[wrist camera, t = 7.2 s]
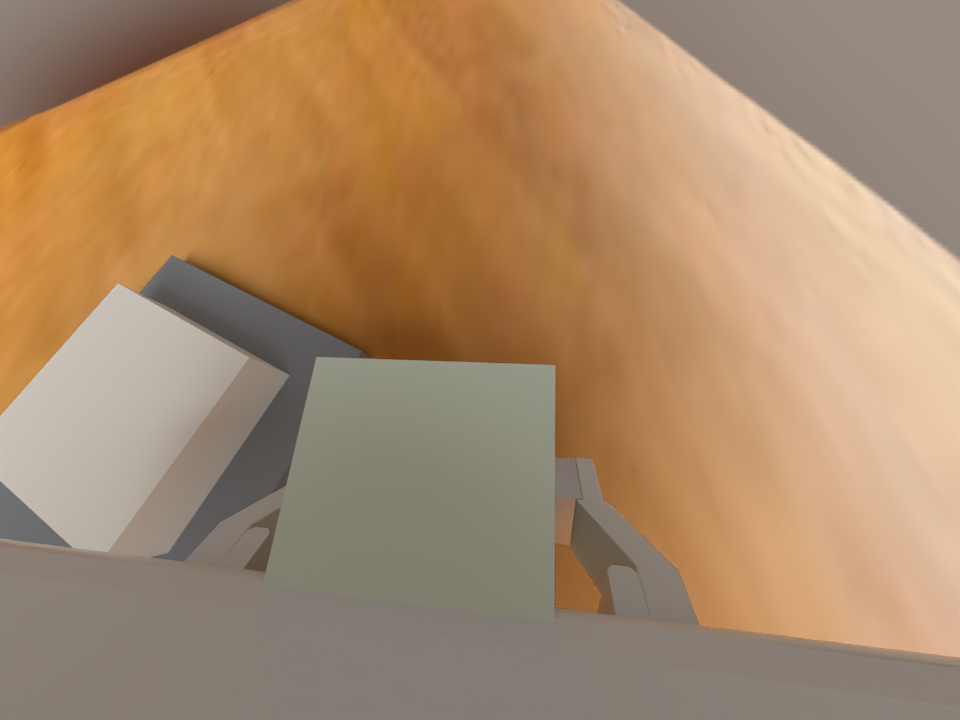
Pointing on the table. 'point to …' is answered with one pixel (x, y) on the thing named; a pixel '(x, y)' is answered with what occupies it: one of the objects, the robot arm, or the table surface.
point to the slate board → (158, 418)
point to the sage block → (424, 486)
